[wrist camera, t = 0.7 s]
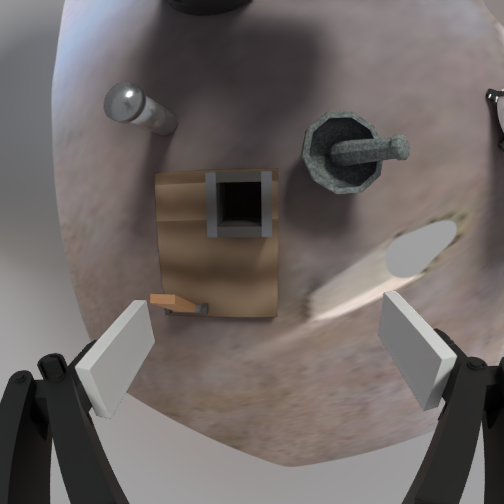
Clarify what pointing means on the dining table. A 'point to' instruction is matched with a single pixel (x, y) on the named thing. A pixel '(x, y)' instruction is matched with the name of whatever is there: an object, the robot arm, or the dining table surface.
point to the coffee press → (498, 108)
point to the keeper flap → (174, 303)
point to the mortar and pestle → (348, 152)
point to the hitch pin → (138, 109)
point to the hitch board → (217, 243)
